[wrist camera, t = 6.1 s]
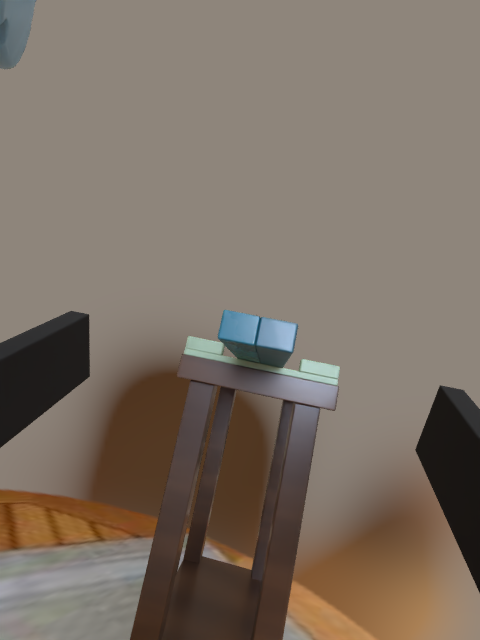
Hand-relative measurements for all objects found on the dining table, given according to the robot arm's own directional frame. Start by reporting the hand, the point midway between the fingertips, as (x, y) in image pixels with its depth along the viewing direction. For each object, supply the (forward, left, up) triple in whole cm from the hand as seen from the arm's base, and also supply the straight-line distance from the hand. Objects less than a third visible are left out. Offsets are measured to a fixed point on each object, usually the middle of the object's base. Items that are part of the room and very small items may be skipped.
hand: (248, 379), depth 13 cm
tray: (-12, +12, +1) cm, 18 cm away
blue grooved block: (-9, +9, +1) cm, 12 cm away
